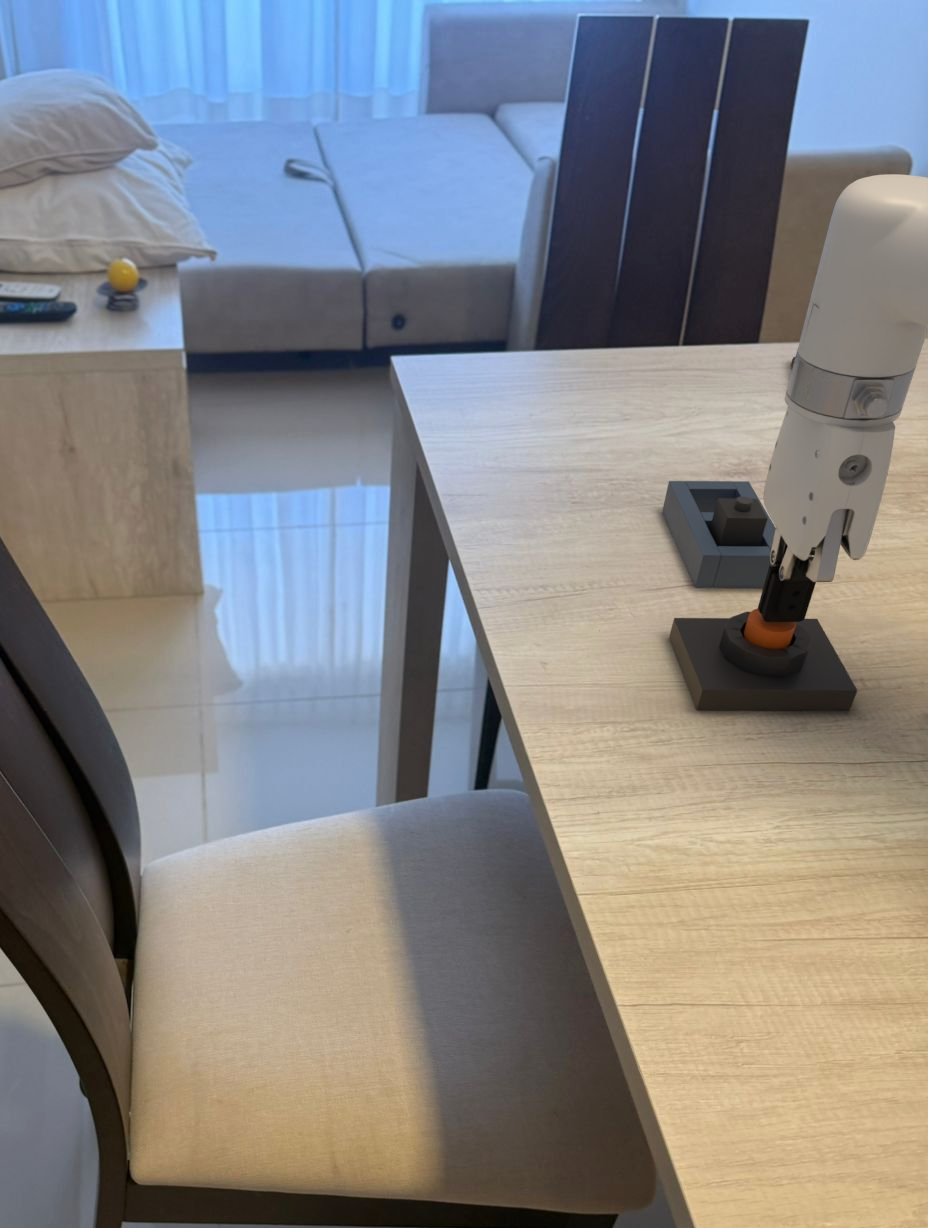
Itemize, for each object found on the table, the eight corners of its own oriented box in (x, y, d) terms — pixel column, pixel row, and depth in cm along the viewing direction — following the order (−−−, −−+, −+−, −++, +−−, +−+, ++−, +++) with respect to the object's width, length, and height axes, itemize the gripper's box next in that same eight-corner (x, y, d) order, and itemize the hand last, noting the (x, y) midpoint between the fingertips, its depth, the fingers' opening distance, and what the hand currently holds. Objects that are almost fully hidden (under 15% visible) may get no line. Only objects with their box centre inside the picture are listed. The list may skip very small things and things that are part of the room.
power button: (782, 625, 93) (788, 606, 92) (796, 651, 90) (802, 632, 89) (738, 625, 93) (743, 606, 92) (750, 650, 90) (755, 632, 89)
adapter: (740, 513, 114) (749, 481, 112) (781, 589, 104) (791, 555, 101) (661, 513, 114) (668, 480, 112) (694, 589, 104) (703, 554, 101)
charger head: (740, 557, 108) (759, 490, 103) (750, 577, 105) (770, 509, 101) (702, 556, 108) (719, 489, 103) (711, 577, 105) (729, 509, 101)
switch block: (809, 640, 98) (823, 599, 95) (849, 712, 90) (865, 671, 88) (668, 639, 98) (678, 599, 95) (696, 712, 90) (707, 670, 88)
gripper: (948, 430, 72) (861, 671, 84) (865, 343, 83) (799, 567, 95) (828, 431, 72) (758, 672, 84) (761, 344, 83) (708, 567, 96)
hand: (780, 615), depth 90 cm, fingers closed
